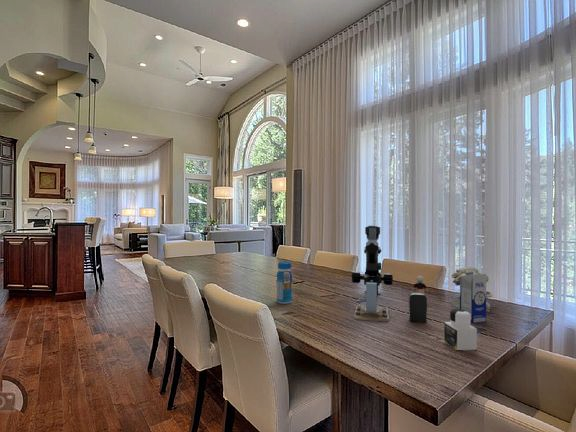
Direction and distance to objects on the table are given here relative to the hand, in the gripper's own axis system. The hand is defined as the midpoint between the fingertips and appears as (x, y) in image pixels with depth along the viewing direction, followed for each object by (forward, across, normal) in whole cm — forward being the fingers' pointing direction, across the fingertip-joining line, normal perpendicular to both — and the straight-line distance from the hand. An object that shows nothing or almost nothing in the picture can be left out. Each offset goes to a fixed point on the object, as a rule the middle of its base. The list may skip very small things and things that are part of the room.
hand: (371, 294), depth 144 cm
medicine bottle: (+28, +29, -18) cm, 44 cm away
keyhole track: (+10, 0, +1) cm, 10 cm away
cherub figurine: (-10, +46, +21) cm, 52 cm away
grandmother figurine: (-10, +23, +22) cm, 33 cm away
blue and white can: (+3, -43, +8) cm, 43 cm away
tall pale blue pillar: (+10, 0, -2) cm, 11 cm away
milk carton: (+7, +41, +4) cm, 42 cm away
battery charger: (+12, +18, -1) cm, 22 cm away
